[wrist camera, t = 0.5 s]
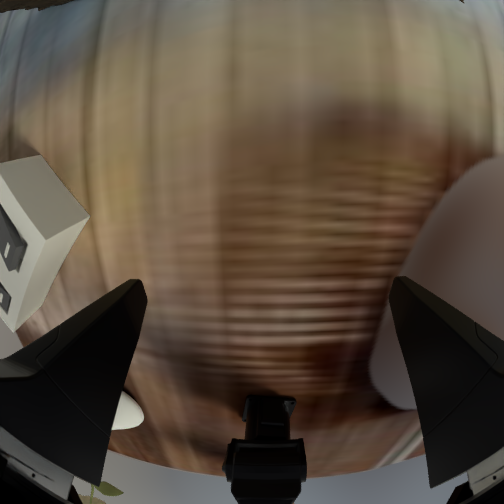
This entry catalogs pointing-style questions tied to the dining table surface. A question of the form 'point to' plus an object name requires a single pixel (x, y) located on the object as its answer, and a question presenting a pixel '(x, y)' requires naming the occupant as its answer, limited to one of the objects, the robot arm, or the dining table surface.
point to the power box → (36, 232)
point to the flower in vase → (124, 418)
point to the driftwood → (34, 4)
